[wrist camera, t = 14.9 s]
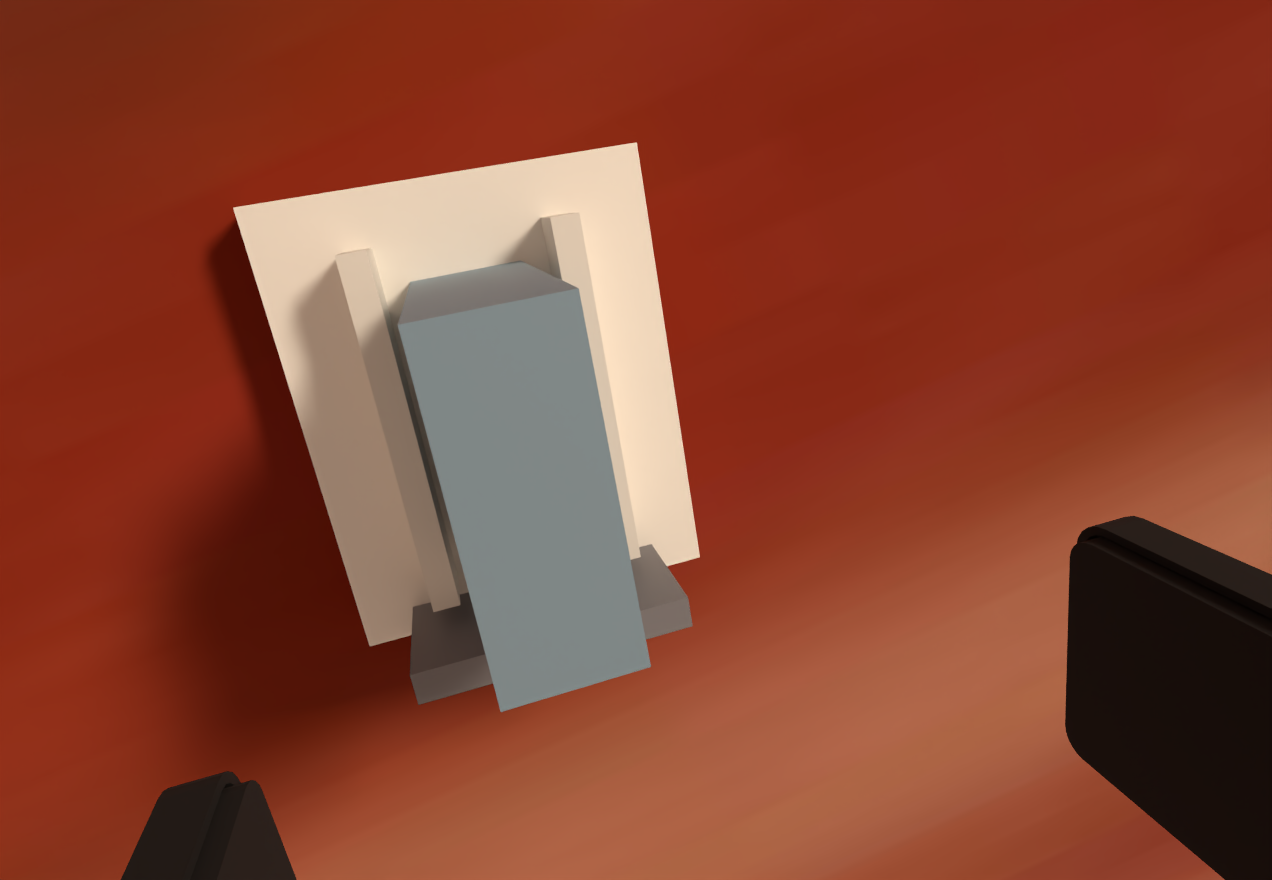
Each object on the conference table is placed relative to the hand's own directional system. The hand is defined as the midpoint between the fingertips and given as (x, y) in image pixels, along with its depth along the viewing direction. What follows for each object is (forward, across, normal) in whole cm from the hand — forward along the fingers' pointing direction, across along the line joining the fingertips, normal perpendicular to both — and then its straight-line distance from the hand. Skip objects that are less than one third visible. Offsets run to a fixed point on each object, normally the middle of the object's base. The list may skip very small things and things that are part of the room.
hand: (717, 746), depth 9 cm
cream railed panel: (+24, +1, +1) cm, 25 cm away
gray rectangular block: (+22, +1, +1) cm, 23 cm away
